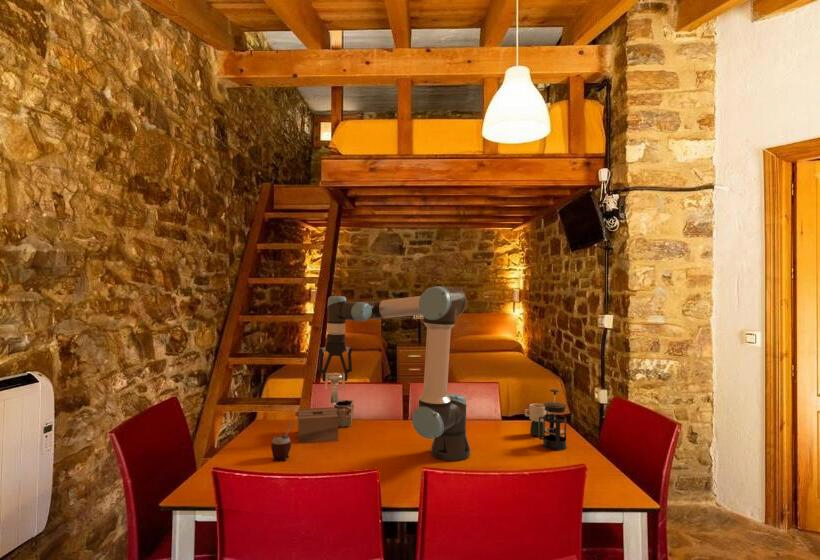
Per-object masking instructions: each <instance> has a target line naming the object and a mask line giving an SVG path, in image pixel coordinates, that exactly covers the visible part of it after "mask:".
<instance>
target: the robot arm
mask: <svg viewBox="0 0 820 560" xmlns="http://www.w3.org/2000/svg"><path fill="white" fill-rule="evenodd" d="M467 303H468V299H467V296H466V294H465V293H464V292H463V290H462V289H460V288H459V287H457V286H443V285H442V286H441V285H439V286H438V285H437V286H431V287H429V288H426V289H425V290H424V291H423V292H422V294H421V295H418V296H417V295H416V296H410V297H409V296H408V297H401V298H400V297H399V298H393V299H392V298H391V299H384V300H374V301H347V297H346V296H341V295H339V296H338V295H335V296H334V295H331V296H329V297H328V299H327V306H326V308H327V323H326V333H327V334H326V344H325V346H324V347H319V348H318V349H319V358H318V359H319V362H318V370H317V371H318V372H319V373H320V374H322V379H321V380H322V382H324V389H325V391H328V380H327V379H328V374H329V373H328V372H327V370H328V367H329V366H330V363H331V360H332V357H339V359H340V360H339V361H340V363H341V365H342V368H343V369H342V370H343V372H342V373H341V374H343V380H341V389H342V390H345V385H346V384H345V382H348V374H349V373H351V372H352V371H353V365H352V351H353V348H352V347H348V346H346V334H345V333H346V321H355V322H367V321H369V320H380V319H388V318H389V319H390V318H399V317H402V318H403V317H411V316H412V317H413V316H422V317H423V319H422V320H423V321H422V324H424V326H425V327H426V341H425V342H426V343H425V360H424V374H423V375H424V376H423V391H422V394H421V395H419V397H418V404H417V405H418V406H417V408H415V410H414V411H413V413H412V416H411V423H412V426H413V428H414V431H416V432H417V434H418V435H419V436H420V437H422V438H424V439H428V440H431V439H433V441H432V443H431V446H430V454H431V456H432V457H433V458H436V459H439V460H441V461H442V460H443V461H450V462H451V461H455V462H456V461H457V462H458V461H462V460H467V459H468V458H470V456H471V447H470V444H469V441H468V437H467V406H468V404H467V399H466V396H464V395H462V394H457V393H451V392H450V393H448V385H449V384H448V383H449V366H450V364H449V363H450V348H451V335H452V334H451V333H452V328H454V327H455V325H456V320H457V318H456V317H459V316H460V315H462V314H463V313H464V311H465V310H466V309H467V305H468V304H467ZM345 350H346V353H347V366H346V361H345V360H344V355H343V354H344V352H345ZM325 351H327V352H328V355H327V359H326V361H325V364H324V366H323V361H324V354H325V353H326V352H325Z"/></svg>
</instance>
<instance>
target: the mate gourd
mask: <svg viewBox="0 0 820 560" xmlns="http://www.w3.org/2000/svg"><path fill="white" fill-rule="evenodd" d="M297 419H298V418H296V419H294V420H292V421H291V422H290V423H289V424H288V427H287V430H286V432H285V435H277V436H274V437H273V439H272V441H271V445H270V447H271V448H270V449H271V454H272V458H273V459H272V461H273V462H277V461H282V462H284V463H285V462H286V461H287V459H288V458H289V457H290V456H289V453H290V451H291V448H292V443H291V439H290V437H289V436H288V434H289V431H290V428H291V426H292V425H293V423H295V422H296V421H297Z"/></svg>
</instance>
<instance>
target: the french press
mask: <svg viewBox="0 0 820 560" xmlns="http://www.w3.org/2000/svg"><path fill="white" fill-rule="evenodd" d="M549 392H552V393H553V395H554V399H553V400H554V402H551V401H549V402H544V403H543V405H544V406H545V410H546V411H548V412H551V414H548V412H547V413H546V415H544V416H543V417H539V436H538V439H539V440H541V441H543V443H542V446H543V448H545V449H548V450H551V451H552V450H553V451H564V450H566V449H567V448H568V446H567V417H566V416H564V415H562V413H564V412H565V410H566V408H567V404H565V403H560V402H556V396H557V393H560V392H561V390H560V389H555V388H554V389H549ZM559 413H561V414H559ZM548 417H550V418H548ZM540 419H543V421H542V422H543V435H542V437H541V436H540ZM546 423H549V427H546ZM561 424H564V425H563V426H564V427H563V428H564V429H562V428H561ZM546 434H547V435H546ZM563 435H564V436H563Z"/></svg>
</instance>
